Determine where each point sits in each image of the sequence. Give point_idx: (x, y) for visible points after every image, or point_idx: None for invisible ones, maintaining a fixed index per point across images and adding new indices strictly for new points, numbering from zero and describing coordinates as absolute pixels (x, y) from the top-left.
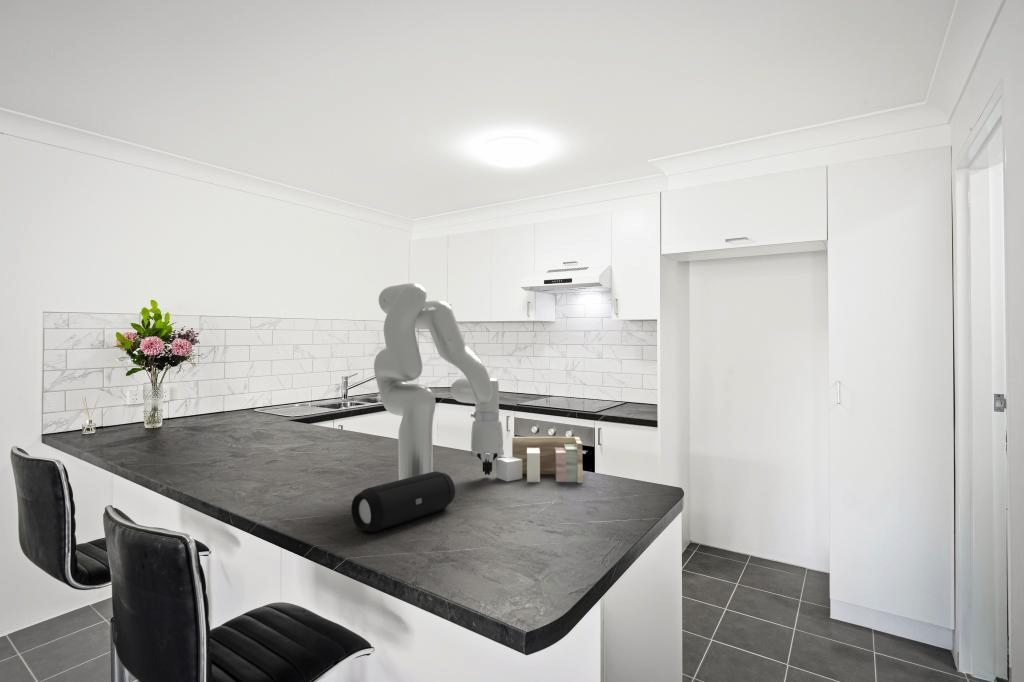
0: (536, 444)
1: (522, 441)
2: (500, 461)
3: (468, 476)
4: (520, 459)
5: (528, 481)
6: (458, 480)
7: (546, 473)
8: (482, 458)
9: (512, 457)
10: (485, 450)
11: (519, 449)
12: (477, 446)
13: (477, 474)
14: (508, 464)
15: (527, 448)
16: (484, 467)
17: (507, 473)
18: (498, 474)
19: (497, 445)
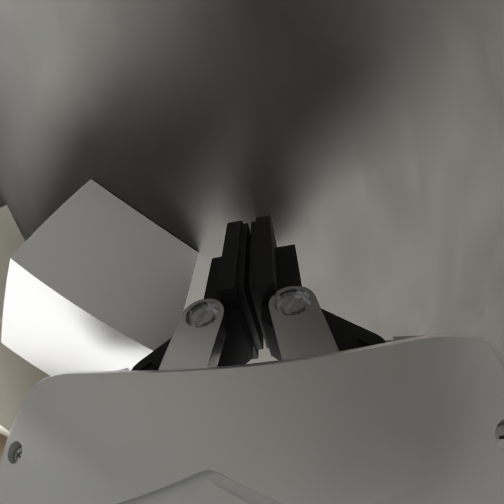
0: (2, 449)
1: None
2: (109, 314)
3: (396, 248)
4: (11, 347)
5: (1, 208)
6: (448, 143)
7: None
8: (306, 317)
9: None
10: (242, 400)
11: None
12: (434, 447)
13: (345, 298)
14: (20, 254)
15: (2, 426)
16: (279, 265)
17: (62, 206)
18: (170, 253)
19: (31, 460)
